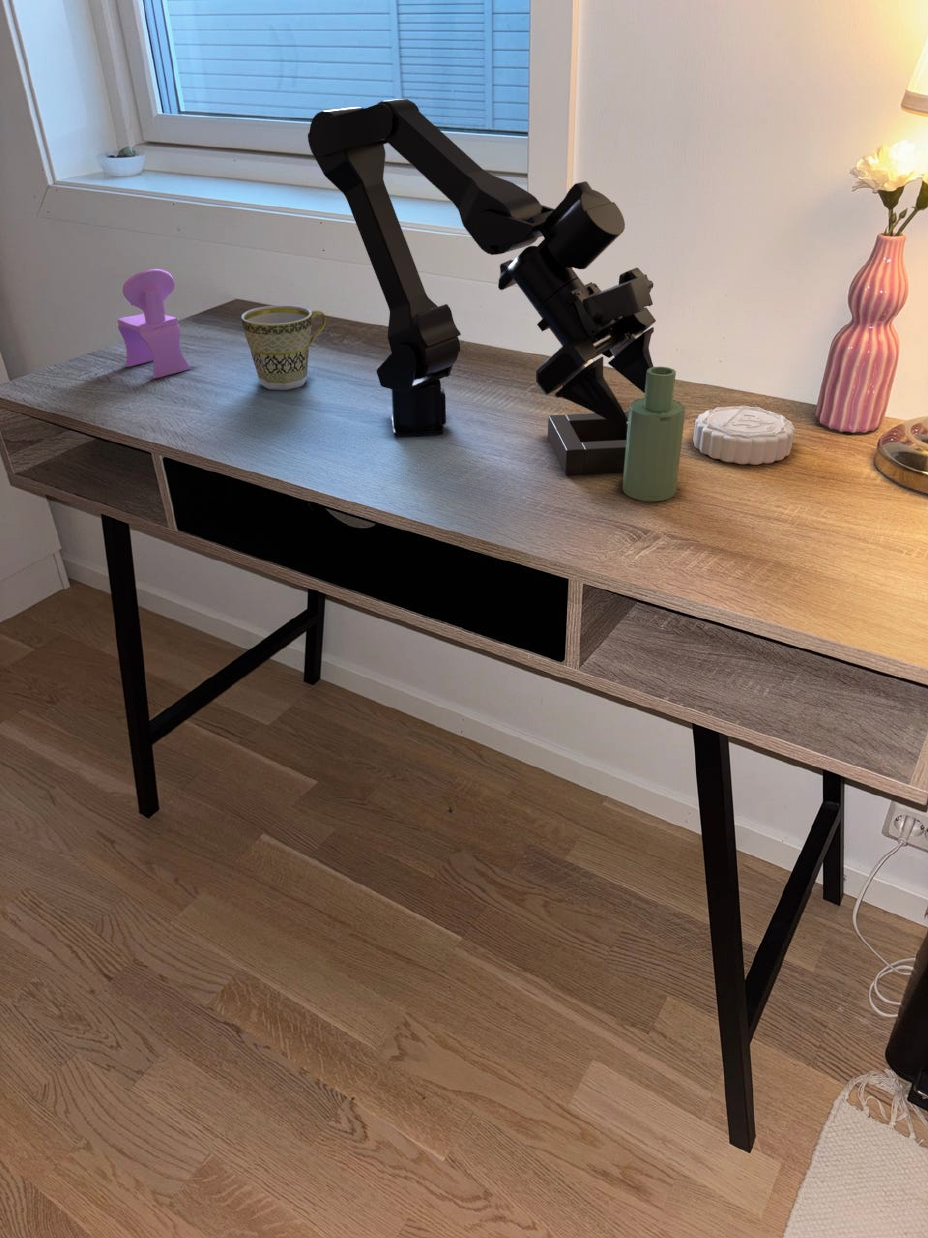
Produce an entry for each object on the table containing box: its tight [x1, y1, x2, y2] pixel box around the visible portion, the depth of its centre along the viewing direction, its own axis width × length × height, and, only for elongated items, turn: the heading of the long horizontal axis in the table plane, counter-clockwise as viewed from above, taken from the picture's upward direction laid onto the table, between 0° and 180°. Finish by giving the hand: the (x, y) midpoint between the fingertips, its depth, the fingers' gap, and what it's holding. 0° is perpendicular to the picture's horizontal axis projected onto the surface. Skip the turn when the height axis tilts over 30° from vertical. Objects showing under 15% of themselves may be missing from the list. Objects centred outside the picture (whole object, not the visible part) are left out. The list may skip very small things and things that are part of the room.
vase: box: [622, 366, 687, 502], centre depth 108 cm, size 6×6×14 cm
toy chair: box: [116, 268, 191, 379], centre depth 147 cm, size 8×9×15 cm
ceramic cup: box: [240, 304, 327, 391], centre depth 142 cm, size 13×10×10 cm
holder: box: [547, 410, 629, 476], centre depth 120 cm, size 11×11×3 cm
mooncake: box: [692, 405, 796, 466], centre depth 122 cm, size 12×12×4 cm
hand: (642, 410), depth 108 cm, fingers open, 9 cm apart
